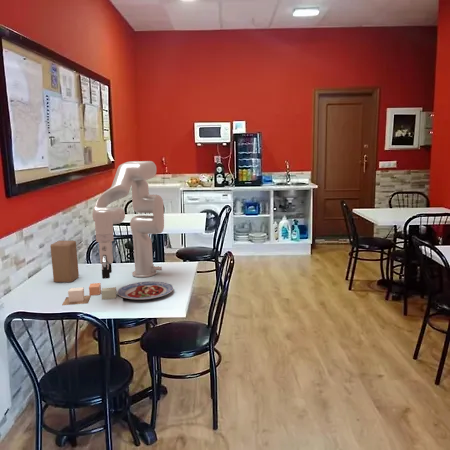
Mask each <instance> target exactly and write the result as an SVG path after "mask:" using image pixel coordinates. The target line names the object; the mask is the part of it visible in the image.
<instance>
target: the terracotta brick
mask: <svg viewBox="0 0 450 450" xmlns="http://www.w3.org/2000/svg"><path fill="white" fill-rule="evenodd" d="M101 285H102V284H101V282H96V283H95V282H93V283H90V284H89V286H88V292H89V295H91V296H97V295H101V293H102V292H101V291H102V286H101Z"/></svg>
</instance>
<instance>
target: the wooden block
mask: <svg viewBox="0 0 450 450" xmlns="http://www.w3.org/2000/svg"><path fill="white" fill-rule="evenodd" d="M77 251H78V250H77V242H76V240H58V241H55V242H53V243H51V244H50V255H51V256H50V257H51V267H52V278H53V282H55V283H72V282H74V281H75V280H76V279H78V278H79V276H80V274H79V264H78V263H79V262H78V252H77Z"/></svg>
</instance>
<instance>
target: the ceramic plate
mask: <svg viewBox="0 0 450 450" xmlns="http://www.w3.org/2000/svg"><path fill="white" fill-rule="evenodd" d="M173 290H174V286H173V285H172V284H171V283H167V282H163V281H155V280H154V281H153V280H152V281H150V280H149V281H139V282H134V283H128V284H127V285H123V286H122V287H120V288H118V290H116V294H117V295H118V296H119V297H121V298H123V299H128V300H138V301H139V300H140V301H141V300H142V301H143V300H151V299H157V298H160V297H164V296H167V295H169V294H171V293H172V292H173Z"/></svg>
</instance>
